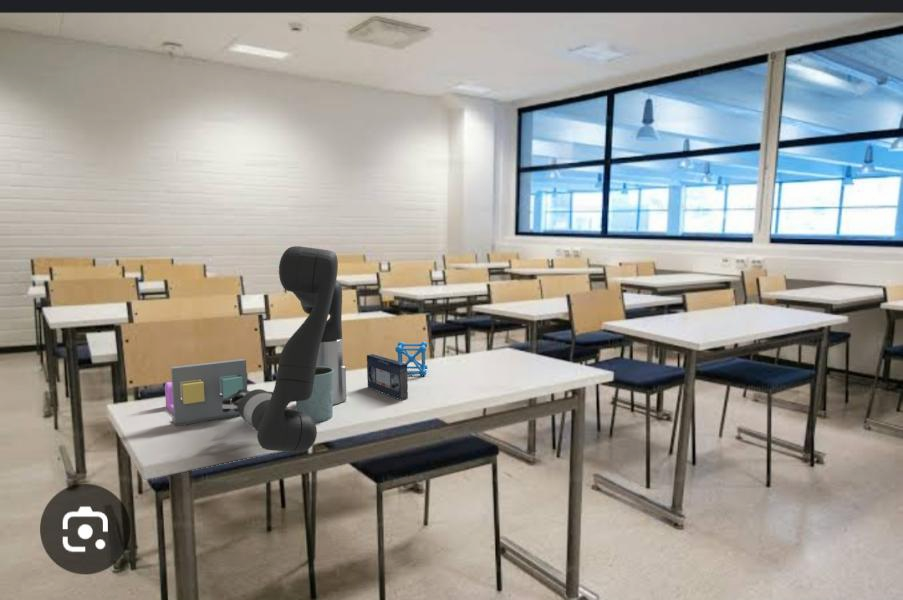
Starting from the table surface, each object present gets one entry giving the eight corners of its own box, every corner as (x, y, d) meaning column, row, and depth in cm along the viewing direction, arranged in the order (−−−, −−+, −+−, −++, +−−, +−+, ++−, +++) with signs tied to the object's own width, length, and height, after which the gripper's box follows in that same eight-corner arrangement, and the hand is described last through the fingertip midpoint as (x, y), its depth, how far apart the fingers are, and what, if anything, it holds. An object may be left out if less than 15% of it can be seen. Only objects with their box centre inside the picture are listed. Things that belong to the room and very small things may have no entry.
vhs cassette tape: (366, 387, 178) (366, 354, 177) (375, 385, 180) (375, 353, 179) (399, 400, 164) (398, 365, 162) (408, 399, 165) (408, 363, 164)
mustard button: (199, 395, 148) (198, 377, 148) (204, 401, 143) (203, 382, 142) (179, 398, 145) (178, 379, 145) (183, 404, 140) (182, 385, 140)
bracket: (165, 406, 158) (164, 381, 158) (187, 403, 162) (186, 378, 161) (179, 418, 148) (178, 391, 148) (202, 414, 152) (201, 387, 151)
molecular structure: (426, 377, 191) (426, 346, 190) (395, 377, 191) (394, 346, 190) (427, 370, 201) (427, 340, 200) (398, 370, 201) (397, 340, 200)
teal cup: (342, 417, 148) (341, 370, 147) (306, 426, 141) (305, 377, 140) (321, 409, 155) (320, 364, 154) (285, 417, 149) (284, 370, 147)
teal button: (236, 389, 153) (235, 372, 152) (243, 395, 148) (242, 377, 147) (217, 392, 150) (216, 374, 150) (223, 398, 145) (222, 379, 145)
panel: (243, 409, 155) (240, 356, 154) (248, 414, 151) (246, 360, 150) (172, 420, 146) (169, 364, 145) (175, 426, 142) (172, 368, 140)
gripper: (292, 389, 127) (269, 374, 142) (228, 398, 120) (210, 381, 135) (294, 423, 128) (270, 404, 143) (230, 434, 121) (212, 413, 135)
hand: (241, 393), depth 139 cm, fingers closed
